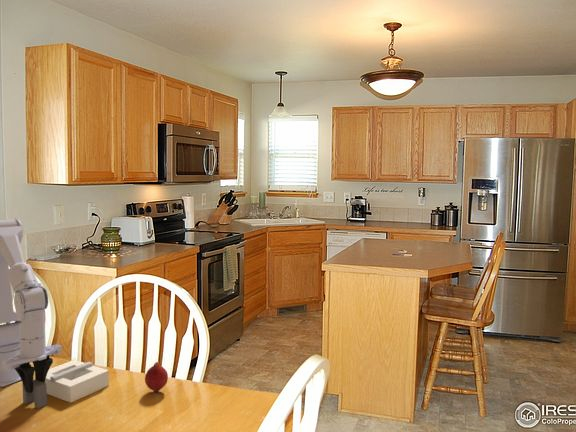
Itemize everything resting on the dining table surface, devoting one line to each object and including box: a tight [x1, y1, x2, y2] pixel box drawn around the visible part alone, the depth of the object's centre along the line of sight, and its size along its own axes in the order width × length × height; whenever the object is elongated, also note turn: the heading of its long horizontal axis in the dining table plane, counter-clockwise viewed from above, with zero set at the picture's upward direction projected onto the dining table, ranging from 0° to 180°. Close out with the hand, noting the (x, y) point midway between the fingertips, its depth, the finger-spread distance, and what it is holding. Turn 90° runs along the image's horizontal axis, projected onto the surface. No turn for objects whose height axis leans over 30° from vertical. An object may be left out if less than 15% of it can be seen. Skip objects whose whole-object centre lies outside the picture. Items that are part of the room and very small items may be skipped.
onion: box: [144, 361, 169, 393], centre depth 139 cm, size 6×6×8 cm
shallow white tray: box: [45, 359, 110, 403], centre depth 141 cm, size 14×12×5 cm
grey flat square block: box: [21, 378, 48, 409], centre depth 131 cm, size 6×2×6 cm, turn 60°
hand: (34, 389), depth 131 cm, fingers closed on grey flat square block, 2 cm apart
